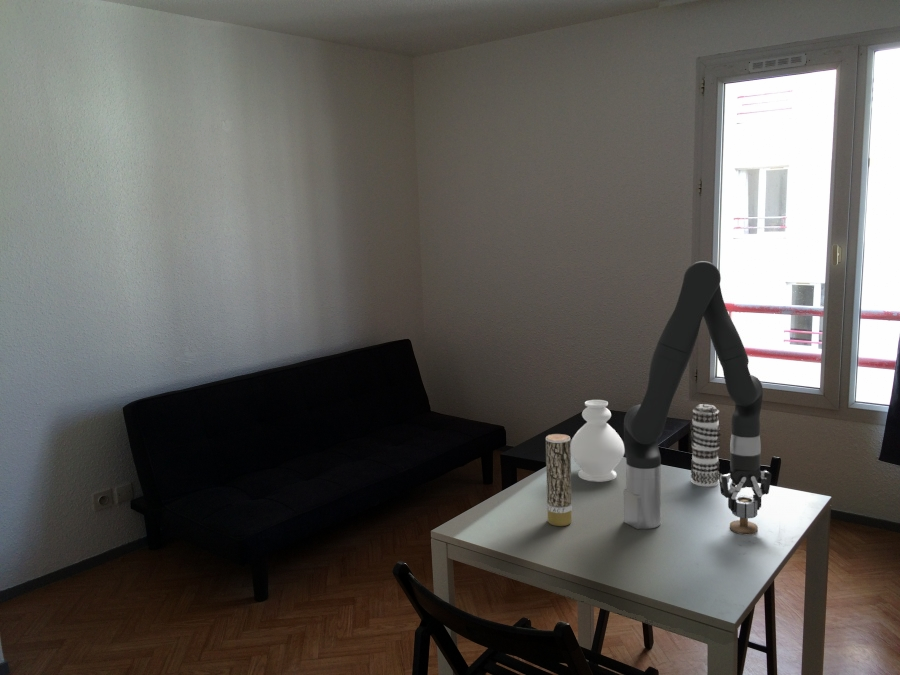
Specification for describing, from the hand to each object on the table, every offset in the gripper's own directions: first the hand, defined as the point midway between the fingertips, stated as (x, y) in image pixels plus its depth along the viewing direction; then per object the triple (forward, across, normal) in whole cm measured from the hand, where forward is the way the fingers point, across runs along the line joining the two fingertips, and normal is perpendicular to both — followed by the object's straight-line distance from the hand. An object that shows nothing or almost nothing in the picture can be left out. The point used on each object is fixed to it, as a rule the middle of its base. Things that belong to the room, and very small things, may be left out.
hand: (744, 509), depth 197 cm
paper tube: (+5, +48, -14) cm, 50 cm away
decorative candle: (+6, -5, -36) cm, 37 cm away
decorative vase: (+5, +26, -49) cm, 56 cm away
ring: (+1, 0, 0) cm, 1 cm away
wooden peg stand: (+5, 0, 0) cm, 5 cm away
